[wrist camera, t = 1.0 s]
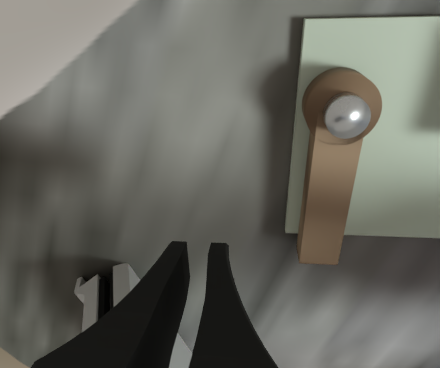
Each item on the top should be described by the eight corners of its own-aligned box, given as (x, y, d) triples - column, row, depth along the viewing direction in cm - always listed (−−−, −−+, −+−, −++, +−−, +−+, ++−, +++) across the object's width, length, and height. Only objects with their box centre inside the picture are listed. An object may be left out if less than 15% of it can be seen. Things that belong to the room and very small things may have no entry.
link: (305, 67, 17) (309, 74, 16) (378, 67, 17) (389, 73, 15) (287, 246, 23) (289, 262, 22) (341, 248, 23) (347, 265, 21)
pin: (369, 91, 16) (375, 97, 15) (361, 132, 17) (366, 138, 16) (325, 91, 16) (329, 97, 15) (320, 131, 17) (323, 138, 16)
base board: (612, 12, 15) (624, 12, 15) (501, 234, 22) (507, 240, 21) (303, 18, 17) (305, 19, 16) (284, 227, 23) (285, 232, 23)
